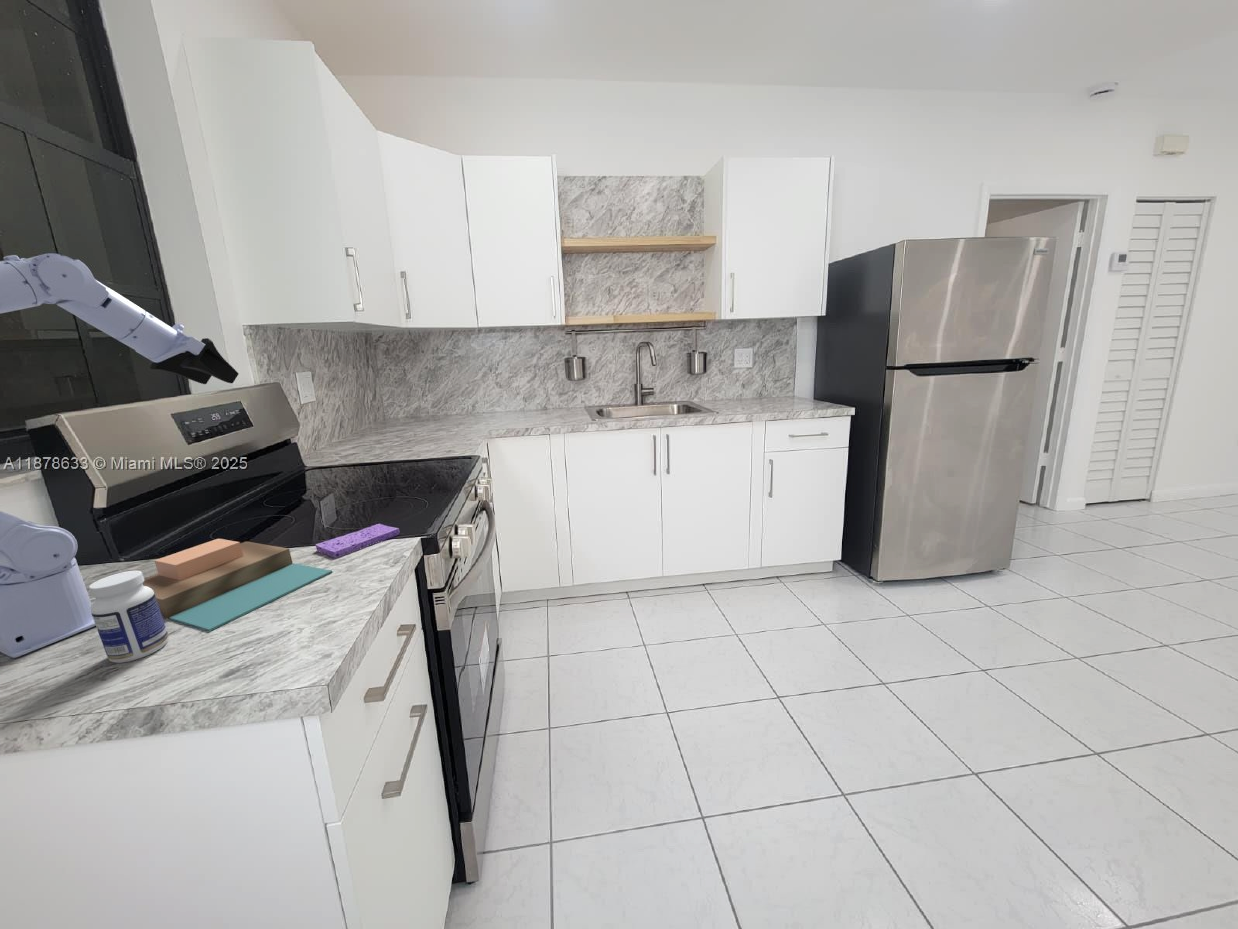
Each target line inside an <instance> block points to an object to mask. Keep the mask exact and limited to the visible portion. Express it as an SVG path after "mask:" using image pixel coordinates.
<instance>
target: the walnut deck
mask: <svg viewBox="0 0 1238 929" xmlns="http://www.w3.org/2000/svg"><path fill="white" fill-rule="evenodd" d="M240 545H241V549H242V553H243V556H242V557H240V558H237V559H234V560H232V561H229V562H227V563H224V564H221V565H219V566H216V567H214V568H211V569H208V570H206V571H203V572H201V573H198V574H195V575H193V576H190V577H188V578H185V579H182V580H177V579H173V578H169V577H165V576H160V575H159V574H158V573H156V574H153V575H150V576H147V577H144V579H145V580H144V582H143V586H147V587H149V588H151V589H152V590H153V591H154V593H155V596H156V599H157V602H158V606H159V609H160V612H161V615H162V617H163V618H164V619H167V620H170V619H169V617H171V616H173V615H176V614H178V613H180V612H183V611H185V610H187V609H190V608H192V607H194V606H196V605H199V604H201V603H203V602H206V601H208V600H210V599H213V598H215V597H217V596H220V595H222V594H224V593H226V592H229V591H231V590H233V589H236V588H238V587H240V586H243V585H245V584H247V583H250V582H252V581H254V580H257V579H259V578H261V577H263V576H266V575H268V574H270V573H273V572H275V571H277V570H280V569H282V568H284V567H287V566H289V565H291V564H293V559H292V554H291V551H290V548H289V547H288V548H287V547H281V546H276V545H270V544H269V545H268V544H263V543H257V542H254V541H253V542H252V541H243V542H240Z"/></svg>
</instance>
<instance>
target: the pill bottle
mask: <svg viewBox="0 0 1238 929" xmlns="http://www.w3.org/2000/svg"><path fill="white" fill-rule="evenodd" d="M144 578H145V577H144V574H143V572H142V571H141V570H129V571H122V572H117V573H114V574H112V575H111V574H110V575H108V576H105V577H103V578H100V579H98V580H96V581H94V582H92V583H91V584H90V585H89V586H88V589H89V592H90V595H91V597H92V598H95V600H94V602H93V603H91V604H92V606H91V614H92V617H93V619H94V622H95V625H96V626H95V628H96V630H97V632H98V636H99V638H100V641H101V643H102V646H103V649H104V651H105V654H106V656H107V659H108V660H109V661H110V662H112V663H116V664H121V663H122V664H123V663H128V662H133V661H136V660H139V659H142V658H144V657H145V658H146V657H147V656H149V655H151V654H153V653H155V652H157V651H158V650H161V649H162V648H163V647H164V646H166V645H167V643H168V642H169V641H170V640H169V639H170V635H169V633H168V630H167V627H166V623H165V621H164V619H163V618H164V617H162V615H161V612H160V609H159V606H158V602H157V599H156V596H155V593H154V591H153V590H152V589H151V588H149V587H147V586H143V582H144V580H145V579H144Z"/></svg>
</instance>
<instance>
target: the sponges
mask: <svg viewBox="0 0 1238 929" xmlns="http://www.w3.org/2000/svg"><path fill="white" fill-rule="evenodd" d="M400 532H401V531H400V528H398V527H394V526H393V527H392V526H388V525H384V524H382V523H378V524H377V523H376V524H375V525H374V524H373V525H371V526H367V527H364V528H362V529H360V530H357V531H354V532H350V533H347V534H345V535H341V536H338V537H335V538H332V539H330V540H325V541H322V542H319V543H316V544H315V545H314V546H315V549H316V552H318V551H320V552H322V553H321V554H323V555H326V556H328V555H330V556H329V557H331V556H332V557H331V558H333V559H338V558H340V557H342V555H343V556H345V555H348V554H351V553H352V551H353V552H356V551H359V550H361V549H364V548H366V546H367V545H370V544H372V545H374V543H375V544H377V543H376V542H378V541H380V542H382V541H385V540H388V539H391V538H394V537H396V536H398V535H399V534H400ZM378 543H379V542H378ZM370 546H371V545H370ZM367 547H368V546H367ZM360 548H361V549H360ZM358 549H359V550H358ZM320 552H319V553H320ZM350 552H351V553H350Z"/></svg>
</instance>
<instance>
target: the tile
mask: <svg viewBox="0 0 1238 929" xmlns="http://www.w3.org/2000/svg"><path fill="white" fill-rule="evenodd" d="M240 543H241V542H240V541H235V540H234V541H233V540H230V539H229V540H228V539H224V538H216V539H213V540H210V541H207V542H204V543H201V544H198V545H195V546H193V547H190V548H186V549H183V550H180V551H178V552H176V553H175V552H174V553H172V554H170V555H169V554H168V555H166V556H164V557H160V558H157V559H154V560H153V561H154V564H155V567H156V570H157V574H159V575H160V576H165V577H169V578H173V579H177V580H182V579H185V578H188V577H190V576H193V575H195V574H198V573H201V572H203V571H206V570H208V569H211V568H214V567H216V566H219V565H221V564H224V563H227V562H229V561H232V560H234V559H237V558H240V557H242V556H243V553H242V549H241V545H240Z"/></svg>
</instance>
